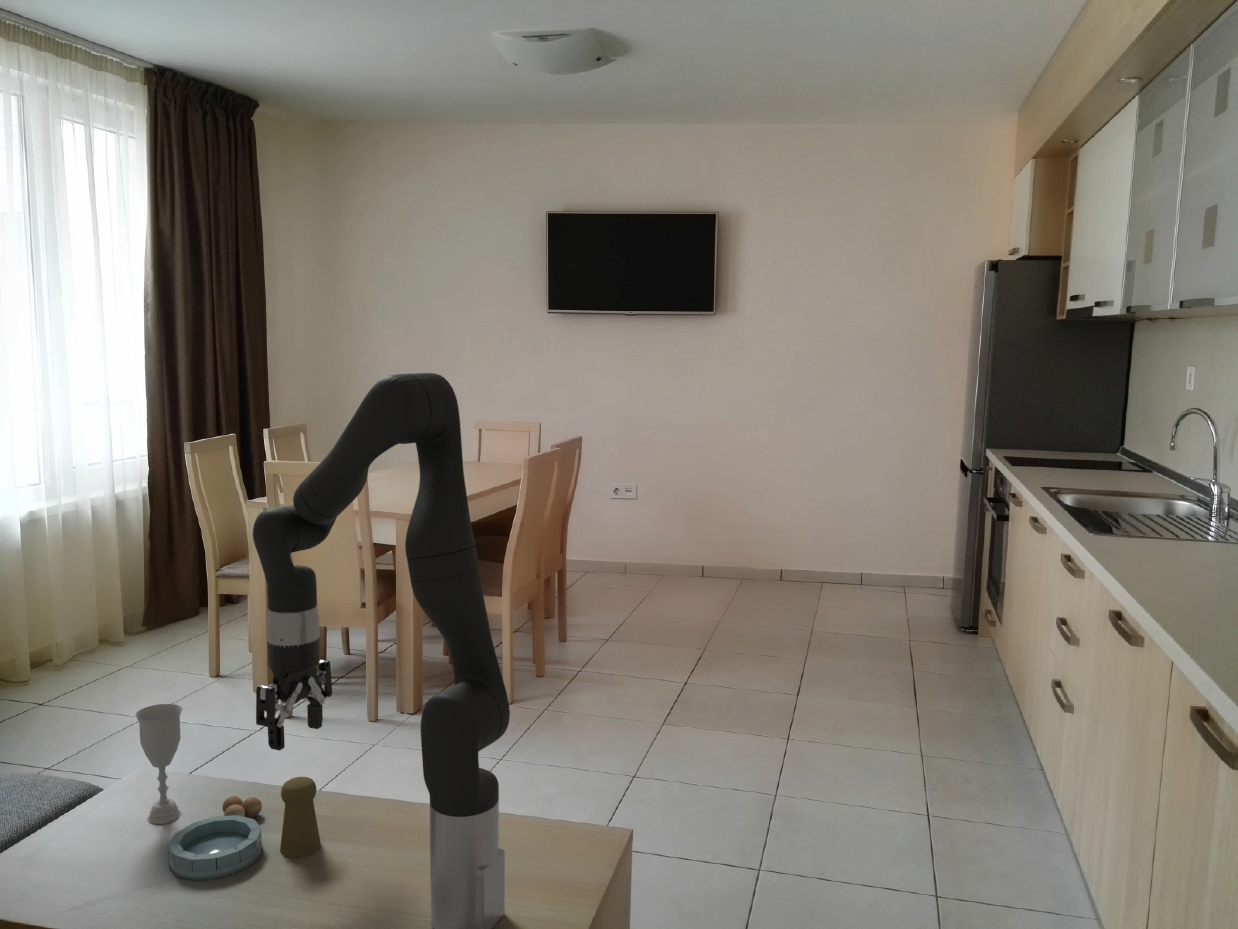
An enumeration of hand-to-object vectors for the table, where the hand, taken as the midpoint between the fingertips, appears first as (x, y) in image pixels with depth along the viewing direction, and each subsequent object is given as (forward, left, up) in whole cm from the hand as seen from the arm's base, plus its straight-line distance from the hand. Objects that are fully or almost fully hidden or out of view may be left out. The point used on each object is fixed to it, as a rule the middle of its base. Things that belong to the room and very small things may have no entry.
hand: (296, 738), depth 143 cm
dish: (+10, +7, -18) cm, 22 cm away
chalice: (+27, +1, -18) cm, 33 cm away
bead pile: (+15, -3, -18) cm, 24 cm away
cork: (0, 0, -18) cm, 18 cm away
